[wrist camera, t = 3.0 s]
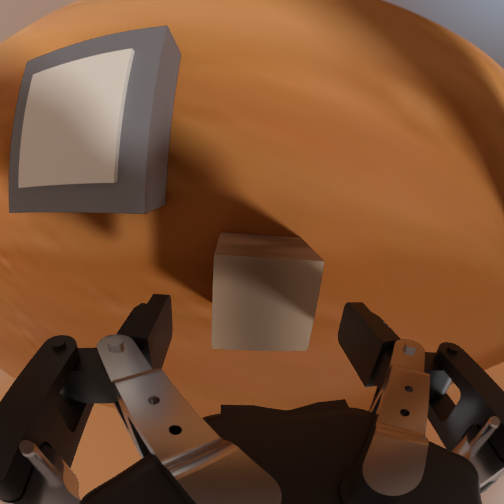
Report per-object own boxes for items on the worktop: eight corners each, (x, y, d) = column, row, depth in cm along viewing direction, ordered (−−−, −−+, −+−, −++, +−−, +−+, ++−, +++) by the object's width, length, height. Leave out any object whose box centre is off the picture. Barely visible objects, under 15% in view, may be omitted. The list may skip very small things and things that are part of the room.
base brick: (181, 54, 13) (165, 22, 9) (165, 204, 16) (141, 215, 12) (57, 75, 13) (23, 60, 8) (44, 204, 15) (5, 213, 11)
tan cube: (300, 237, 17) (324, 261, 12) (290, 308, 18) (307, 350, 14) (220, 231, 17) (214, 254, 12) (217, 305, 18) (211, 348, 13)
